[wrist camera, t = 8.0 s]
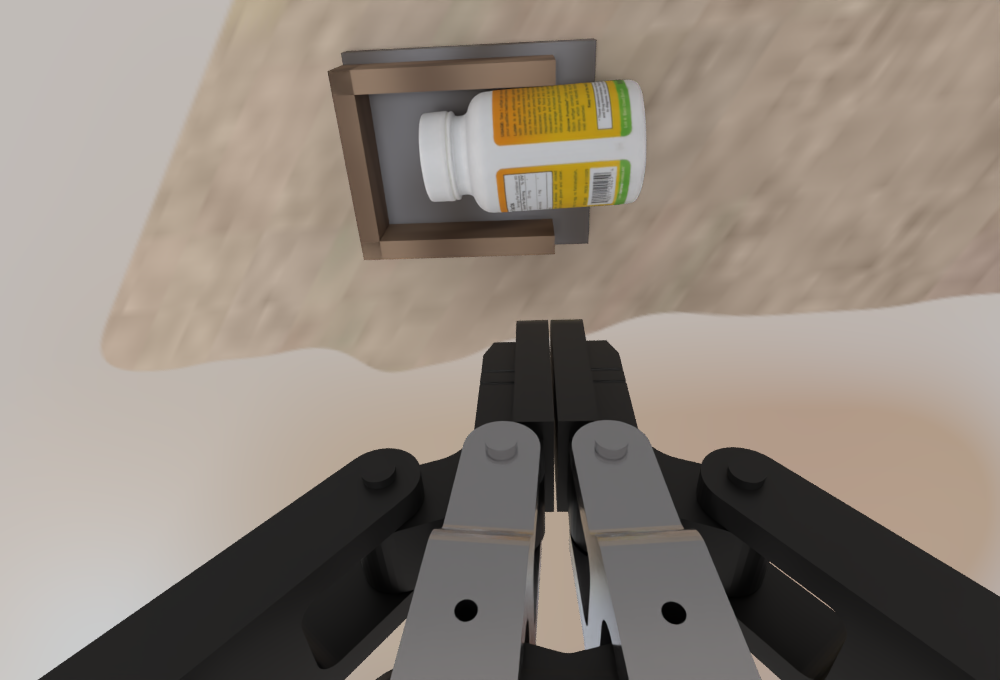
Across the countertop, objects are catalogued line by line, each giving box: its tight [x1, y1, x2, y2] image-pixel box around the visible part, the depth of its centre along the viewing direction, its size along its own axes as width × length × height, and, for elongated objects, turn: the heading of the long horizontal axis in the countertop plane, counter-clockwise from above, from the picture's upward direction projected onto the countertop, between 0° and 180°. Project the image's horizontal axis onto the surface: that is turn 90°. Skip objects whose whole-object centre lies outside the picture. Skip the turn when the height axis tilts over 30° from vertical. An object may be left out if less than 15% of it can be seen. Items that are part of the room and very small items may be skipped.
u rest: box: [328, 39, 596, 260], centre depth 28 cm, size 12×10×4 cm
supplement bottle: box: [419, 80, 646, 213], centre depth 26 cm, size 5×5×10 cm
